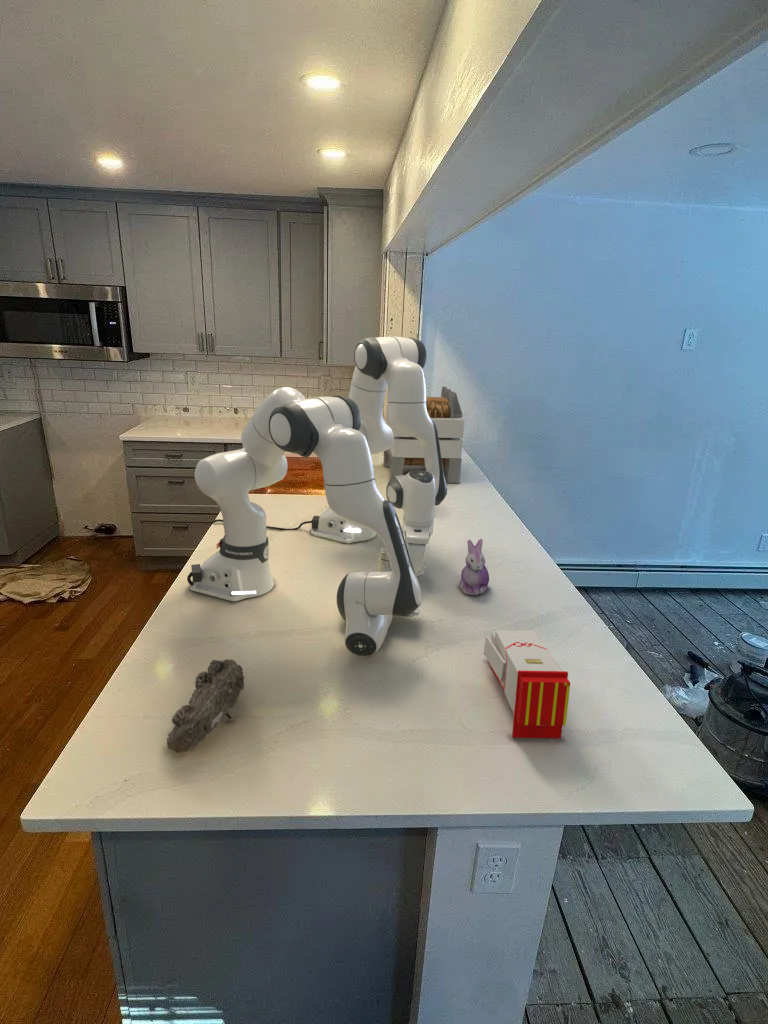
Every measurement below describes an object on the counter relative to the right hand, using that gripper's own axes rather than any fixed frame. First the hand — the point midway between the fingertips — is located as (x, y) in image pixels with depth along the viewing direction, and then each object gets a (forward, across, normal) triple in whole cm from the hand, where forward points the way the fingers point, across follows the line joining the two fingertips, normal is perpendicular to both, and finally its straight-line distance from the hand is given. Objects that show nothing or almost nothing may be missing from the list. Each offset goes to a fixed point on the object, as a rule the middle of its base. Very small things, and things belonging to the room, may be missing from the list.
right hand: (414, 570), depth 167 cm
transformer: (+2, -114, 0) cm, 114 cm away
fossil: (+2, +66, -37) cm, 76 cm away
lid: (-2, 0, 0) cm, 2 cm away
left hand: (-3, +17, -7) cm, 19 cm away
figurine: (+2, +5, +17) cm, 18 cm away
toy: (+2, +51, +23) cm, 56 cm away
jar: (+2, +18, -7) cm, 19 cm away
